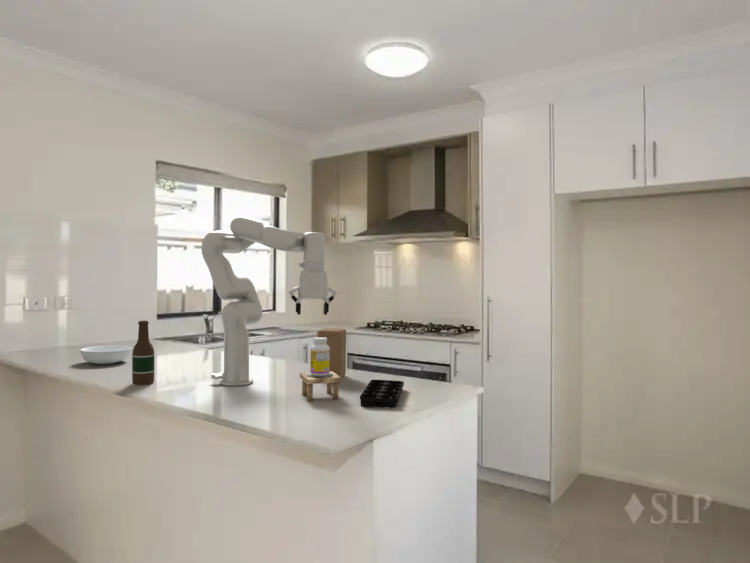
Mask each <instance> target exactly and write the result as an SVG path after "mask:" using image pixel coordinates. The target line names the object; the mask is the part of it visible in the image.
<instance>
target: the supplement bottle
mask: <svg viewBox="0 0 750 563" xmlns="http://www.w3.org/2000/svg"><path fill="white" fill-rule="evenodd" d="M326 342H327V338H324V337H317V336H316V337H314V338H313V345H311V347H310V362H309V363H310V369H309V370H310V372H309V373H311V375H313V376H326V375H328V374H329V362H330V348H329V346H328V345H326Z"/></svg>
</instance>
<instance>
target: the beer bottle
mask: <svg viewBox="0 0 750 563" xmlns="http://www.w3.org/2000/svg"><path fill="white" fill-rule="evenodd" d="M137 324H138V334H137V342H136V343H135V345H134V346H133V348H132V353H131V355H132V356H131V357H132V358H131V368H132V369H131V372H132V373H131V375H132V376H131V380H132V381H131V382H132V384H133V385H134V386H146V385H153V383H154V382H155V348H154V346H153V344H152V343H151V342H150V338H149V337H150V336H149V334H150V332H149V320H139V321H138V323H137Z"/></svg>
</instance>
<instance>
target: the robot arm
mask: <svg viewBox="0 0 750 563" xmlns="http://www.w3.org/2000/svg"><path fill="white" fill-rule="evenodd" d="M229 225H230V226H229V228H230V231H224V230H214V231H209V232H208V233H207V234H206V235H205V236H204V238H203V239H202V243H201V248H200V250H201V254H202V258H203V260H204V262H205V265H206V266H207V269H208V271H209V274H210V278H211V280H212V283H213V285H214V288H215V291H216V294H217V296H218V297H219V298H220V299H221V300H222V301H223V300H224V301H232V302H228V303H226V304H225V305H224V307H223V308H222V309H221V313H220V314H221V316H220V317H221V323H222V326H223V327H222V328H223V370H222V372H219V373H215V372H214V373H211V374H210V376H211V379H215V380H219V379H220V380H219V384H220V385H222V386H225V387H226V386H229V387H238V386H239V387H240V386H247V385H251V384H253V382H254V379H253V378H252V377H250V335H249V334H250V333H249V330H248V329H247V326H248V325H255V324H257V323H259V322H260V321H261V319H262V317H263V307H262V305H261V301H260V299H259V296H258V293H257V291H256V289H255V285H254V283H253V282H252V281H251V279H249V277H246V276H244V275H236V274H235V272H234V270H233V267H232V265H231V263H230V261H229V260H228V259H227V258H226V256H225V255H224V254H239V253H242V252H244V251H245V250H247V249H248V248H250V247H251V246H252V245H254V244H255V243H257V244H260V245H263V246H265V247H268V248H270V249H274V250H278V251H283V252H286V253H287V252H288V253H303V261H302V262H301V263H300V262H299V263H298V266H299V268H302V270H300V274H299V281H298V286H295V287H293V288H291V289H289V290H288V294H289V296H290V298H291V299H292V300H293V301H294V303H295V313H296V314H297V315H298V316H299V315H301V311H302V310H301V309H302V308H301V307H302V304H301V301H302V300H303V299H315V300H318V299H321V300H323V301H324V303H323V315H324V316H327V315H328V313H329V310H330V309H329V308H330V303H331V302H332V301H333V300H334V299H335V297H336V295H337V291H336V290H334V289H332V288H330V287H329V286H328V285H329V282H328V273H327V271H326V270H325V257H326V256H325V254H326V252H325V251H326V249H325V248H326V235H325V233H323V232H315V231H308V232H302V231H295V230H287V229H283V228H279V227H276V226H274V225H273V224H272V223H271V222H268V221H264V220H261V219H260V218H257V217H252V216H245V215H241V216H240V215H239V216H235V218H233V219H232V220H231V222H230V224H229ZM297 291H298V293H297V294H298V296H297V297H296V296H295V294H294V293H295V292H297ZM329 293H330V294H331V295H330V296H329V297H328V294H329Z"/></svg>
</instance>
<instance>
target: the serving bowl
mask: <svg viewBox="0 0 750 563" xmlns="http://www.w3.org/2000/svg"><path fill="white" fill-rule="evenodd" d="M131 350H132V348H131V347H130V346H127V345H96V346H88V347H83V348H81V349H80V351H79V352H80V356H81V357H82V359H83V360H85V361H86V362H87V363H92V364H95V365H100V366H101V365H114V364H116V363H119V362H122V361H124V360H126V359H127V358H129V356H130V354H131Z"/></svg>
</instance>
